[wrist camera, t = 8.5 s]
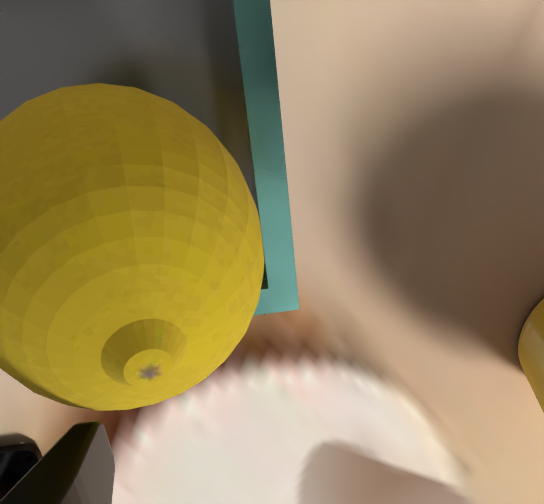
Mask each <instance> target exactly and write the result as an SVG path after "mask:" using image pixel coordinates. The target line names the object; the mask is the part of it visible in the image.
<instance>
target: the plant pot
mask: <svg viewBox="0 0 544 504" xmlns="http://www.w3.org/2000/svg"><path fill="white" fill-rule="evenodd" d="M518 356H519V360H520V364H521V366H522V369H523V371H524V373H525V375H526V377H527V379H528V381H529V383H530V385H531V387H532V389H533V392H534V394H535V396H536V398H537V400H538V402H539V404H540V406H541V408H542V410H543V412H544V298H543V299H542V300H541V301H540V302H539V303H538V305H537V306H536V307H535V308H534V309H533V311H532V312H531V313H530V315H529V317H528V318H527V320H526V322H525V324H524V326H523V328H522V331H521V334H520V338H519V343H518Z"/></svg>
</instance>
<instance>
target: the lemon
mask: <svg viewBox="0 0 544 504" xmlns="http://www.w3.org/2000/svg"><path fill="white" fill-rule="evenodd" d="M263 272H264V252H263V243H262V235H261V227H260V220H259V215H258V211H257V208H256V205H255V202H254V200H253V197H252V195H251V193H250V191H249V188H248V186H247V184H246V181H245V179H244V177H243V174H242V172H241V170H240V168H239V166H238V164H237V163H236V161H235V160H234V158H233V157H232V156H231V154H230V153H229V152H228V151H227V150H226V148H225V147H224V146H223V145H222V143H221V142H220V141H219V140H218V139H217V137H216V136H215V135H214V134H213V132H212V131H211V130H210V129H209V128H208V127H207V126H206V125H204V124H203V123H202V122H200V121H199V120H197V119H196V118H195V117H193V116H192V115H191V114H189V113H188V112H186V111H185V110H184V109H182V108H181V107H180V106H178V105H177V104H175V103H174V102H172V101H169V100H167V99H164V98H162V97H159V96H156V95H154V94H151V93H149V92H146V91H143V90H141V89H138V88H135V87H128V86H119V85H111V84H103V83H94V84H85V85H77V86H69V87H61V88H58V89H56V90H53V91H51V92H48V93H46V94H43V95H41V96H38V97H36V98H33V99H31V100H28V101H26V102H25V103H23V104H22V105H21V106H19V107H18V108H17V109H15V110H14V111H13V112H11V113H10V114H9V115H8V116H6V117H5V118H4V119H2V120H1V121H0V368H1V369H2V370H3V371H5V372H6V373H8V374H9V375H10V376H12V377H13V378H14V379H16V380H17V381H19V382H20V383H22V384H23V385H24V386H26V387H27V388H29V389H30V390H31V391H33V392H34V393H37V394H39V395H42V396H44V397H47V398H49V399H52V400H54V401H57V402H59V403H62V404H65V405H69V406H74V407H80V408H87V409H93V410H99V411H100V410H128V409H132V408H137V407H142V406H147V405H151V404H156V403H158V402H161V401H163V400H166V399H168V398H171V397H173V396H176V395H179V394H181V393H183V392H184V391H186V390H188V389H189V388H191V387H192V386H194V385H196V384H197V383H199V382H201V381H202V380H204V379H205V378H206V377H207V376H208V375H210V374H211V373H212V372H213V371H214V370H215V369H216V368H217V367H218V366H220V365H221V364H222V363H223V362H224V361H225V360H226V358H227V357H228V356H229V355H230V353H231V352H232V351H233V349H234V348H235V347H236V345H237V344H238V343H239V341H240V340H241V339H242V337H243V336H244V335H245V333H246V331H247V328H248V326H249V324H250V321H251V319H252V317H253V314H254V312H255V310H256V307H257V304H258V302H259V298H260V292H261V285H262V279H263Z"/></svg>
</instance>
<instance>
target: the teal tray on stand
mask: <svg viewBox="0 0 544 504" xmlns="http://www.w3.org/2000/svg"><path fill="white" fill-rule="evenodd" d="M94 83H103V84H111V85H119V86H128V87H135V88H138V89H141V90H143V91H146V92H149V93H151V94H154V95H156V96H159V97H162V98H164V99H167V100H169V101H172V102H174V103H175V104H177V105H178V106H180V107H181V108H182V109H184V110H185V111H186V112H188V113H189V114H191V115H192V116H193V117H195V118H196V119H197V120H199V121H200V122H202V123H203V124H204V125H206V126H207V127H208V128H209V129H210V130H211V131H212V132H213V134H214V135H215V136H216V137H217V139H218V140H219V141H220V142H221V143H222V145H223V146H224V147H225V148H226V150H227V151H228V152H229V153H230V154H231V156H232V157H233V158H234V160H235V161H236V163H237V164H238V166H239V168H240V170H241V172H242V174H243V177H244V179H245V181H246V184H247V186H248V188H249V191H250V193H251V195H252V197H253V200H254V202H255V205H256V208H257V211H258V215H259V220H260V227H261V235H262V243H263V252H264V272H263V279H262V285H261V292H260V298H259V302H258V304H257V307H256V310H255V312H254V314H253V315H260V314H268V313H275V312H283V311H290V310H297V309H299V300H298V290H297V279H296V269H295V258H294V248H293V237H292V227H291V216H290V206H289V195H288V185H287V174H286V164H285V153H284V143H283V132H282V122H281V111H280V101H279V90H278V80H277V70H276V59H275V49H274V38H273V28H272V17H271V7H270V0H0V121H1V120H2V119H4V118H5V117H6V116H8V115H9V114H10V113H11V112H13V111H14V110H15V109H17V108H18V107H19V106H21V105H22V104H23V103H25V102H26V101H28V100H31V99H33V98H36V97H38V96H41V95H43V94H46V93H48V92H51V91H53V90H56V89H58V88H61V87H69V86H77V85H85V84H94Z"/></svg>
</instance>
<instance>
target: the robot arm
mask: <svg viewBox="0 0 544 504" xmlns="http://www.w3.org/2000/svg"><path fill="white" fill-rule="evenodd" d="M25 454H28V455H30V456H27V455H25ZM114 473H115V462H114V456H113V453H112V450H111V446H110V443H109V440H108V437H107V434H106V431H105V428H104V426H103V424H102V423H101V422H100V421H97V420H96V421H89V422H81V423H77V424H75V425H73V426H72V427H71V428H70V429H69V430H68V431H67V432H66V433H65V434H64V435H63V436H62V437H61V438H60V439H59V440H58V442H57V443H56V444H55V445H54V446H53V447H52V448H51V449H50V450H49V451H48V452H47V453H46V454H45V455H44V456H43V457H42V454H41V452H40V450H39V448H38V447H37V446H35V445H33V444H19V445H12V446H5V447H0V504H112V493H113V483H114Z"/></svg>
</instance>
